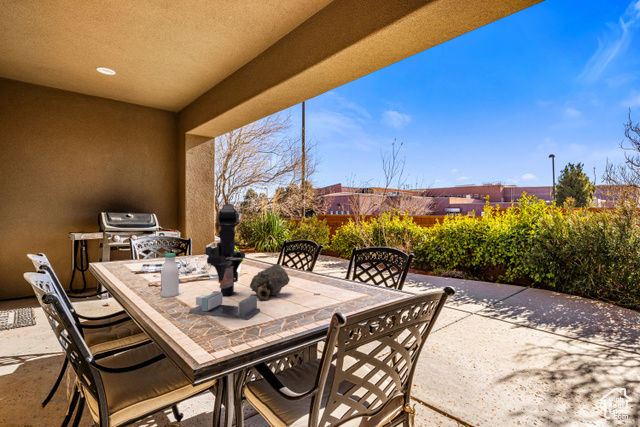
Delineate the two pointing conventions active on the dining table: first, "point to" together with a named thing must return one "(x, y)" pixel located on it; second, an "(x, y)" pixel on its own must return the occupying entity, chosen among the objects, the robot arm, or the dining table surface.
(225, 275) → the lighter
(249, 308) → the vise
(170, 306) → the dining table surface
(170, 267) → the milk bottle
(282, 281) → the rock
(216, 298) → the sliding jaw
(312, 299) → the dining table surface
